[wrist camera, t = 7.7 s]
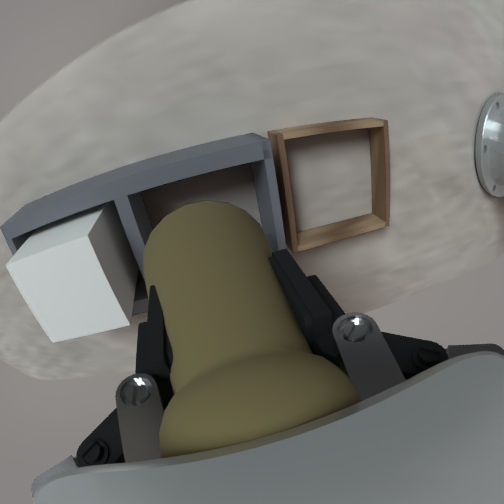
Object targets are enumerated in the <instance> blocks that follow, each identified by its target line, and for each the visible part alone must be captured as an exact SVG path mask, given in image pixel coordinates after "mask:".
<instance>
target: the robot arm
mask: <svg viewBox="0 0 504 504" xmlns="http://www.w3.org/2000/svg"><path fill="white" fill-rule="evenodd" d="M475 160H476V168H477V173H478V177H479V180H480V182H481V185H482V187H483V188H484V189H485V191H486V192H488V193H489V194H491V195H493V196H495V197H503V196H504V93H496V94H494V95H493V96H491V97H490V98H489V100H488V101H487V102H486V104H485V106H484V108H483V109H482V112H481V115H480V118H479V122H478V127H477V133H476V143H475ZM268 259H269V261H270V263H271V265H272V267H273V269H274V271H275V273H276V276H277V278H278V280H279V282H280V284H281V286H282V288H283V290H284V292H285V294H286V296H287V298H288V301H289V303H290V305H291V307H292V309H293V311H294V313H295V315H296V317H297V319H298V322H299V324H300V326H301V328H302V330H303V333H304V335H305V338H306V340H307V342H308V344H309V346H310V348H311V350H312V352H313V354H315V355H319V356H322V357H324V358H325V359H327V360H328V361H330V362H332V363H333V364H335V365H336V366H338V367H339V368H340V369H341V370H343V371H344V373H345V374H346V375H347V376H348V377H349V379H350V381H351V382H352V384H353V385H354V387H355V388H356V390H357V391H358V393H359V394H360V398H361V402H359V403H357V404H355V405H352V406H350V407H347V408H345V409H343V410H340V411H338V412H335V413H333V414H330V415H328V416H325V417H322V418H320V419H317V420H314V421H311V422H309V423H306V424H303V425H300V426H297V427H294V428H291V429H288V430H285V431H282V432H278V433H275V434H272V435H269V436H265V437H262V438H258V439H254V440H251V441H247V442H243V443H239V444H235V445H231V446H227V447H222V448H218V449H213V450H208V451H203V452H198V453H193V454H187V455H181V456H175V457H168V458H161V451H160V441H159V431H160V427H161V423H162V419H163V415H164V411H165V409H166V408H167V406H168V404H169V402H170V401H171V399H172V397H173V396H174V392H173V389H172V385H171V382H170V373H171V372H170V368H171V366H172V363H173V353H172V346H171V343H170V340H169V337H168V334H167V331H166V328H165V325H164V317H163V310H162V307H161V303H160V300H159V297H158V294H157V291H156V287H155V285H151V286H150V292H149V305H148V321H147V322H143V323H140V324H139V327H138V339H137V354H136V374H133V375H131V376H129V377H127V378H125V379H124V380H123V381H122V382H121V383H120V385H119V386H118V388H117V390H116V396H115V397H116V407H117V408H116V409H115V410H114V411H113V412H112V413H111V414H110V415H109V416H108V417H107V418H106V419H105V420H104V421H103V422H102V423H101V424H100V425H99V426H98V427H97V428H96V429H95V430H94V431H93V432H92V433H91V434H90V435H89V436H88V437H87V438H86V439H85V440H84V441H83V442H82V444H81V445H80V446H79V448H78V451H77V456H75V457H73V456H72V455H71V456H69V457H68V458H66V459H65V460H63V461H61V462H60V463H58V464H57V465H55V466H53V467H52V468H50V469H49V470H47V471H45V472H44V473H42V474H40V475H39V476H37V477H36V478H35V479H34V481H33V483H32V488H31V491H32V495H33V498H34V499H33V503H32V504H504V350H503V349H502V348H501V347H500V346H498V345H496V344H473V345H449V346H448V348H447V349H444V348H443V347H442V346H441V345H439V344H437V343H435V342H432V341H427V340H421V339H416V338H411V337H406V336H400V335H395V334H390V333H385V332H381V331H380V329H379V327H378V325H377V324H376V322H375V321H374V320H373V319H372V318H371V317H369V316H368V315H365V314H362V313H348V314H345V313H344V311H343V310H342V309H341V307H340V306H339V305H338V303H337V302H336V301H335V299H334V298H333V297H332V295H331V294H330V293H329V291H328V290H327V289H326V288H325V286H324V285H323V284H322V282H321V281H320V280H319V278H318V277H317V276H316V275H312V276H308V277H306V276H305V274H304V273H303V271H302V270H301V269H300V267H299V266H298V264H297V263H296V262H295V260H294V259H293V257H292V256H291V255H290V253H289V252H288V251H287V249H282V250H279V251H275V252H272V256H271V257H268Z"/></svg>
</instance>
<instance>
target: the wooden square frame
mask: <svg viewBox="0 0 504 504" xmlns="http://www.w3.org/2000/svg"><path fill="white" fill-rule="evenodd" d="M361 128H369V139H370V155H371V178H372V213H370V214H367V215H363V216H359V217H355V218H351V219H348V220H344V221H340V222H336V223H332V224H329V225H325V226H321V227H317V228H314V229H310V230H306V231H302V232H298V233H296V226H295V217H294V209H293V201H292V194H291V186H290V179H289V171H288V164H287V157H286V151H285V144H284V140H286V139H291V138H297V137H303V136H309V135H316V134H322V133H329V132H337V131H344V130H353V129H361ZM268 137H269V140H270V142H271V148H272V154H273V160H274V167H275V173H276V179H277V186H278V193H279V199H280V206H281V213H282V220H283V227H284V235H285V242H286V244H287V245H288V247H289V248H290V249H291V251H292V252H293V253H296V252H299V251H303V250H306V249H310V248H313V247H317V246H320V245H324V244H327V243H331V242H334V241H338V240H341V239H345V238H348V237H352V236H355V235H359V234H362V233H366V232H369V231H372V230H376V229H379V228H383V227H386V226H389V218H390V155H389V134H388V120H382V119H377V118H362V119H352V120H343V121H334V122H326V123H318V124H311V125H304V126H298V127H291V128H285V129H279V130H274V131H268Z"/></svg>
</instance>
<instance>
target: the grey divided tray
mask: <svg viewBox="0 0 504 504" xmlns="http://www.w3.org/2000/svg"><path fill="white" fill-rule="evenodd" d="M250 162H251V167H252V173H253V178H254V184H255V189H256V195H257V200H258V206H259V212H260V217H261V223H262V229H263V232H264V234H265V236H266V238H267V241H268V243H269V245H270V248H271V250H272V252H275V251H279V250H282V249H286V242H285V235H284V227H283V220H282V213H281V206H280V199H279V193H278V186H277V179H276V173H275V167H274V160H273V154H272V148H271V142H270V140H269V139H267V138H264V137H262V136H259V135H257V134H254V133H250V134H245V135H240V136H235V137H231V138H226V139H222V140H217V141H213V142H209V143H205V144H201V145H197V146H193V147H189V148H185V149H181V150H177V151H174V152H170V153H167V154H163V155H160V156H156V157H153V158H150V159H146V160H143V161H140V162H137V163H133V164H130V165H127V166H124V167H121V168H118V169H115V170H112V171H109V172H106V173H104V174H101V175H98V176H95V177H92V178H90V179H87V180H84V181H82V182H79V183H76V184H74V185H71V186H69V187H66V188H64V189H61V190H59V191H56V192H54V193H52V194H49V195H47V196H45V197H42V198H40V199H38V200H35V201H33V202H31V203H29V204H27V205H25V206H24V207H22V208H21V209H20V210H19V211H18V212H16V213H15V214H14V215H13V216H12V217H11V218H10V219H8V220H7V221H6V222H5V223H4V224H3V225H2V226H1V227H0V228H1V230H2V232H3V235H4V237H5V239H6V241H7V244H8V246H9V248H10V250H11V252H12V254H13V256H14V254H15V253H16V252H17V251H18V250H19V248H20V247H21V246H22V245H23V244H24V243H25V241H26V240H27V239H28V238H29V237H30V236H31V235H32V233H33V232H34V231H35V230H36V229H37V228H38V227H41V226H43V225H46V224H48V223H51V222H53V221H56V220H59V219H61V218H64V217H66V216H69V215H72V214H75V213H77V212H80V211H83V210H86V209H88V208H91V207H94V206H97V205H100V204H103V203H106V202H109V201H112V200H114V202H115V205H116V208H117V211H118V213H119V216H120V219H121V222H122V225H123V227H124V230H125V233H126V235H127V238H128V241H129V243H130V246H131V248H132V251H133V253H134V256H135V259H136V261H137V263H138V266H139V268H140V270H138V276H137V282H136V289H135V295H134V302H133V309H132V315H136V314H140V313H144V312H148V305H149V299H148V294H147V289H146V283H145V278H144V272H143V252H144V248H145V246H146V243H147V241H148V238H149V236H150V233H151V232H152V231H153V229H152V226H151V223H150V220H149V217H148V213H147V210H146V207H145V204H144V201H143V198H142V195H141V191H143V190H146V189H150V188H153V187H157V186H160V185H163V184H167V183H170V182H174V181H178V180H181V179H185V178H189V177H192V176H196V175H200V174H204V173H208V172H212V171H216V170H220V169H224V168H228V167H232V166H237V165H241V164H245V163H250Z"/></svg>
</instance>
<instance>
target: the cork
mask: <svg viewBox="0 0 504 504" xmlns="http://www.w3.org/2000/svg"><path fill="white" fill-rule="evenodd" d="M271 256H272V250H271V248H270V245H269V243H268V241H267V238H266V236H265V234H264V232H263V230H262V228H261V226H260V224H259V223H258V222H257V221H256V220H255V219H254V218H253V217H252V216H251V215H249V214H248V213H247V212H246V211H245V210H243V209H240V208H238V207H236V206H234V205H231V204H229V203H225V202H215V201H202V202H197V203H193V204H188V205H184V206H182V207H180V208H179V209H177V210H175V211H173V212H172V213H170V214H168V215H167V216H165V217H164V218H163V219H162V220H161V221H160V223H159V224H158V225H157V226H156V227H155V228H154V229H153V231H152V232H151V233H150V236H149V238H148V241H147V243H146V246H145V248H144V252H143V272H144V278H145V283H146V289H147V294H148V299H149V292H150V286H151V285H155V287H156V291H157V294H158V297H159V300H160V303H161V307H162V310H163V317H164V325H165V328H166V331H167V334H168V337H169V340H170V343H171V346H172V353H173V363H172V366H171V368H170V372H171V373H170V382H171V385H172V389H173V392H174V396H173V397H172V399H171V401H170V402H169V404H168V406H167V408H166V409H165V411H164V415H163V419H162V423H161V427H160V431H159V441H160V451H161V458H168V457H175V456H181V455H187V454H193V453H198V452H203V451H208V450H213V449H218V448H222V447H227V446H231V445H235V444H239V443H243V442H247V441H251V440H254V439H258V438H262V437H265V436H269V435H272V434H275V433H278V432H282V431H285V430H288V429H291V428H294V427H297V426H300V425H303V424H306V423H309V422H311V421H314V420H317V419H320V418H322V417H325V416H328V415H330V414H333V413H335V412H338V411H340V410H343V409H345V408H347V407H350V406H352V405H355V404H357V403H359V402H361V398H360V394H359V393H358V391H357V390H356V388H355V387H354V385H353V384H352V382H351V381H350V379H349V377H348V376H347V375H346V374H345V373H344V371H343V370H341V369H340V368H339V367H338V366H336V365H335V364H333V363H332V362H330V361H328V360H327V359H325V358H324V357H322V356H319V355H315V354H313V352H312V350H311V348H310V346H309V344H308V342H307V340H306V338H305V335H304V333H303V330H302V328H301V326H300V324H299V322H298V319H297V317H296V315H295V313H294V311H293V309H292V307H291V305H290V303H289V301H288V298H287V296H286V294H285V292H284V290H283V288H282V286H281V284H280V282H279V280H278V278H277V276H276V273H275V271H274V269H273V267H272V265H271V263H270V261H269V259H268V257H271Z"/></svg>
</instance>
